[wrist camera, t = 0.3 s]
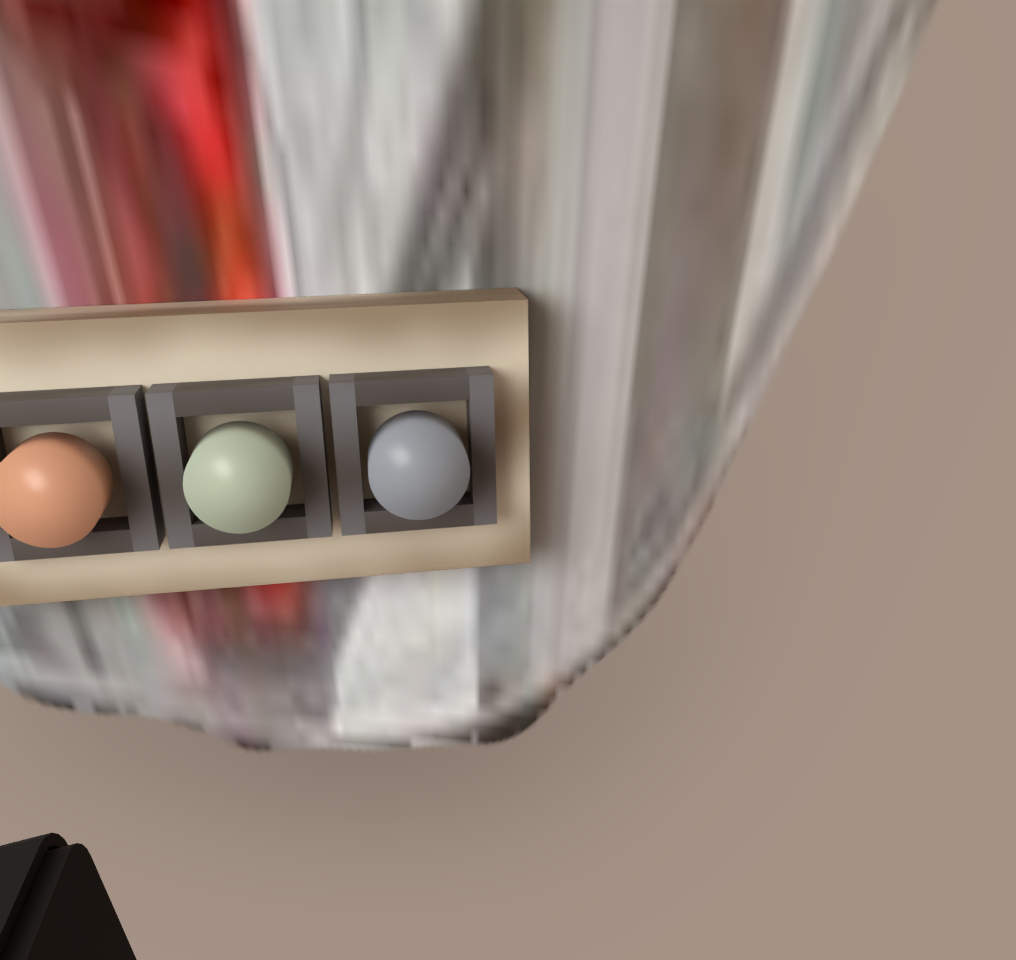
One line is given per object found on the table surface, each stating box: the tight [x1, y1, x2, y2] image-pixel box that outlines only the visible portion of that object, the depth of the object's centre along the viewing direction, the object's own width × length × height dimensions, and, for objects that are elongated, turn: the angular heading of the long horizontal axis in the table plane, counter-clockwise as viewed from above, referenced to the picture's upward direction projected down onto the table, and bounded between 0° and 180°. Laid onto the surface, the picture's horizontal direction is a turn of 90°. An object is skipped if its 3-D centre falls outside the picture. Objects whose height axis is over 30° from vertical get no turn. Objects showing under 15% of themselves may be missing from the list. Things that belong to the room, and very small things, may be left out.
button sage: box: [183, 421, 293, 534], centre depth 38 cm, size 4×4×2 cm
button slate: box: [368, 410, 470, 520], centre depth 39 cm, size 4×4×2 cm
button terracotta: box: [0, 432, 114, 548], centre depth 37 cm, size 4×4×2 cm
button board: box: [0, 288, 531, 607], centre depth 41 cm, size 12×24×4 cm, turn 91°
